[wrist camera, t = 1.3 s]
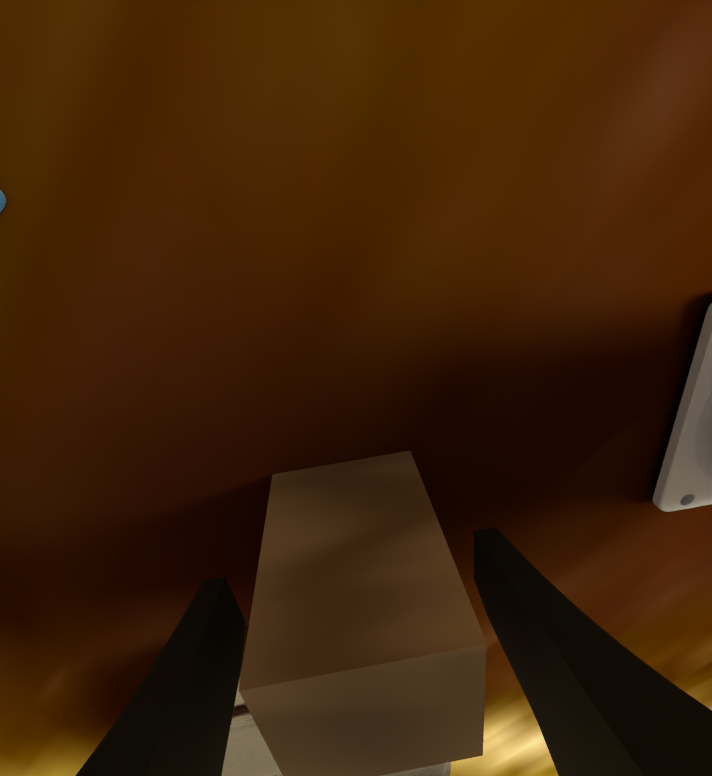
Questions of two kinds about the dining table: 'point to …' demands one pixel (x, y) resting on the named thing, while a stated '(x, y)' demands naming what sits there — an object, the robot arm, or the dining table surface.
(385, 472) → the walnut block
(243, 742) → the biscuit tin
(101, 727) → the dining table surface
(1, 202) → the ink box
